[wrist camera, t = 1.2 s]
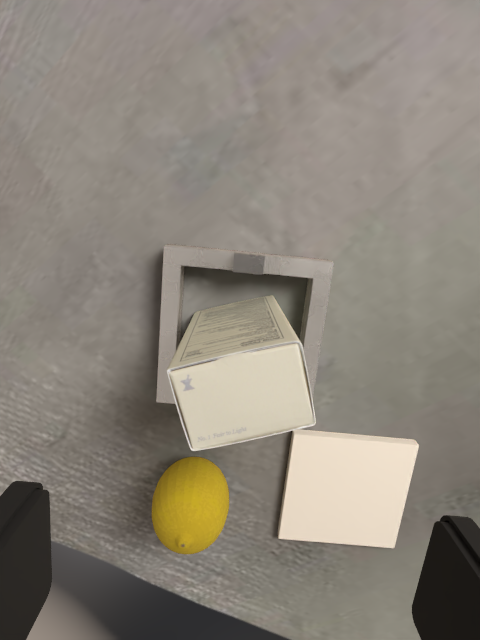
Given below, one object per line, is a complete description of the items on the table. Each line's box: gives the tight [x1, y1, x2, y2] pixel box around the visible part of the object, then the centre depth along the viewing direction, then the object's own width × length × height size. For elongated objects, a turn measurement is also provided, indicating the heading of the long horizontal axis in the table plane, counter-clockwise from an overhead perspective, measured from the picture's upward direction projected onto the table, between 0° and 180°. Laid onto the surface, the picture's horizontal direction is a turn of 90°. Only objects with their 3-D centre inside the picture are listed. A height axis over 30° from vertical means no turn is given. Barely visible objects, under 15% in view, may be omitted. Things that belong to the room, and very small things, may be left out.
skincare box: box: [167, 295, 316, 451], centre depth 23 cm, size 6×4×12 cm
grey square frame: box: [156, 244, 334, 404], centre depth 27 cm, size 11×11×3 cm
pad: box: [278, 429, 419, 548], centre depth 32 cm, size 10×10×1 cm
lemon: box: [152, 457, 229, 554], centre depth 28 cm, size 6×6×8 cm
